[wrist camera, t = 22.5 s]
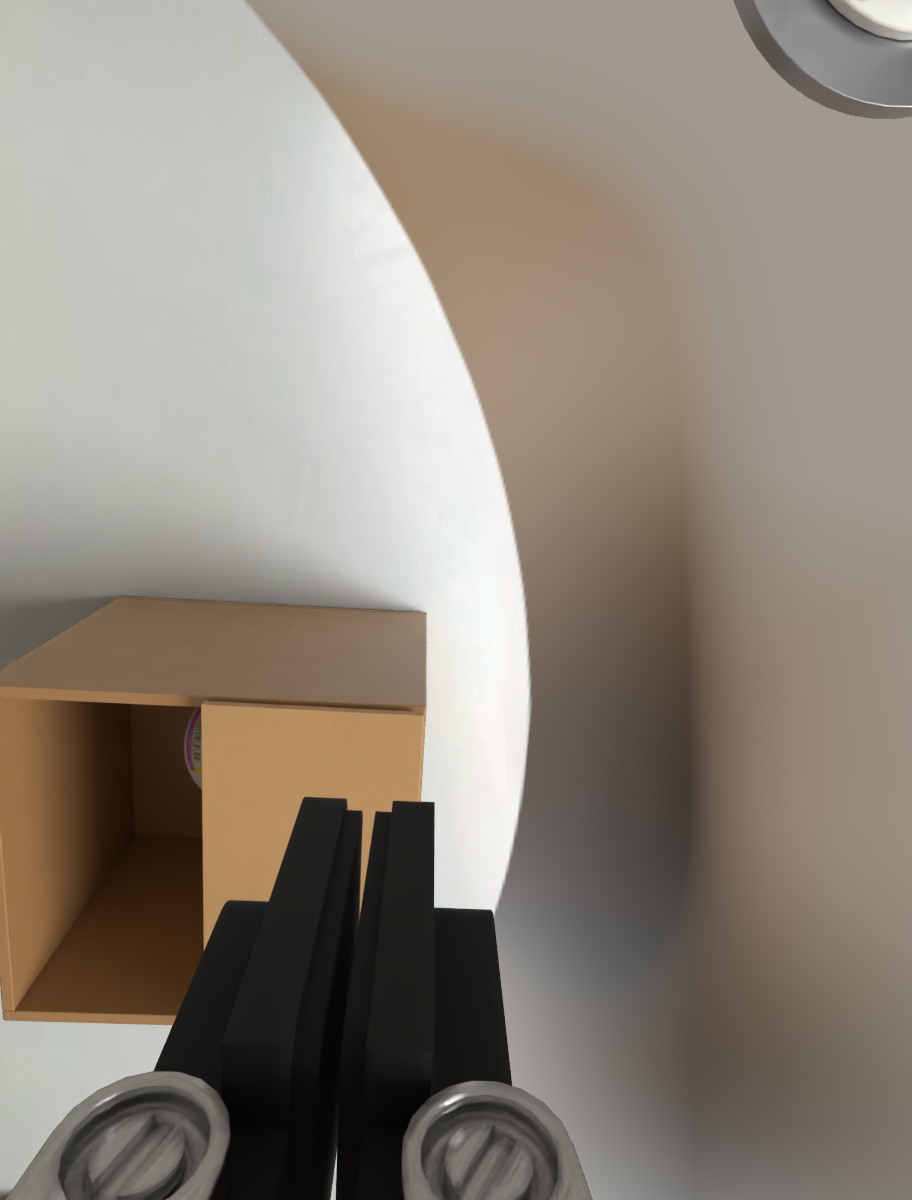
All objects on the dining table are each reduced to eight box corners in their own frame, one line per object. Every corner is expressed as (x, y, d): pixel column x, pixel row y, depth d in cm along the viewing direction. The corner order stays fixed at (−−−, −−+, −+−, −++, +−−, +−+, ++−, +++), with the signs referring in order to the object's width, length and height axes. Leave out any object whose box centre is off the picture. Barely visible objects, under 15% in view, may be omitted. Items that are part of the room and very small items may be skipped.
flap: (424, 711, 30) (424, 715, 30) (404, 1038, 33) (404, 1046, 33) (203, 700, 30) (200, 704, 29) (206, 1032, 33) (204, 1039, 33)
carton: (426, 612, 44) (426, 706, 30) (412, 849, 48) (406, 1032, 34) (121, 595, 44) (-26, 684, 29) (129, 837, 47) (2, 1020, 33)
